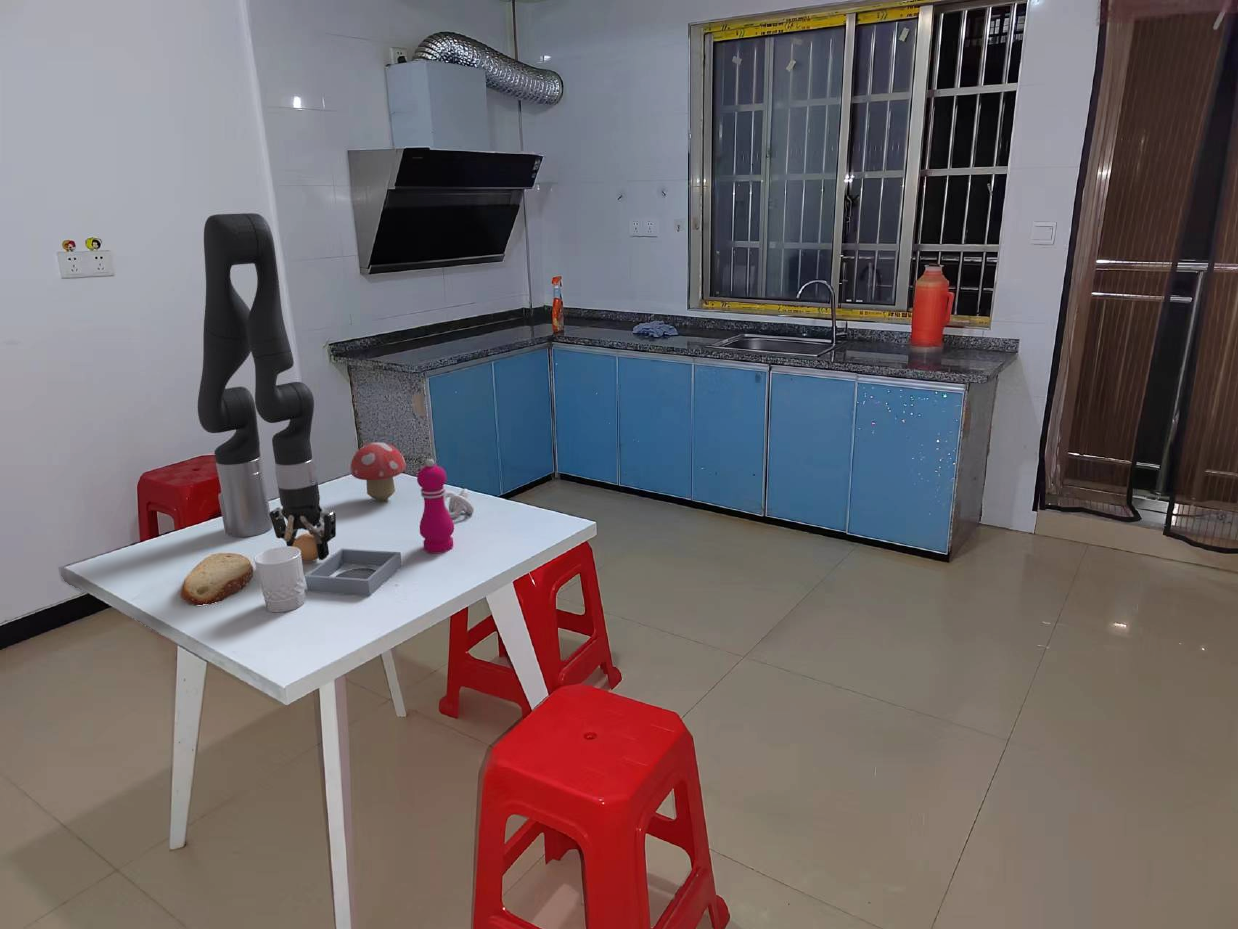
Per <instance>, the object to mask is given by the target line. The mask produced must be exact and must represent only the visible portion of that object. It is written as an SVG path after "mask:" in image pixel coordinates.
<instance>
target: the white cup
mask: <svg viewBox="0 0 1238 929" xmlns="http://www.w3.org/2000/svg"><path fill="white" fill-rule="evenodd" d="M253 560H254V564H255V569H256V572H257V577H258V581H259V585H260V588H261V593H262V596H263V598H264V599H263V600H264V602H265V606H266V608H267V610H268V611H270V612H273V613H285V612H290V611H293V610H295V609H298V608H300V607H302V606H303V605H304V604H305V602H306V591H305V580H304V578H305V576H304V568H303V567H304V566H303V562H302V557H301V550H300V549H299V548H297V547H292V546H287V545H286V546H278V547H273V548H269V549H264V550H263V551H261V552H259V553H257V555H255V557H254V559H253Z"/></svg>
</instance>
